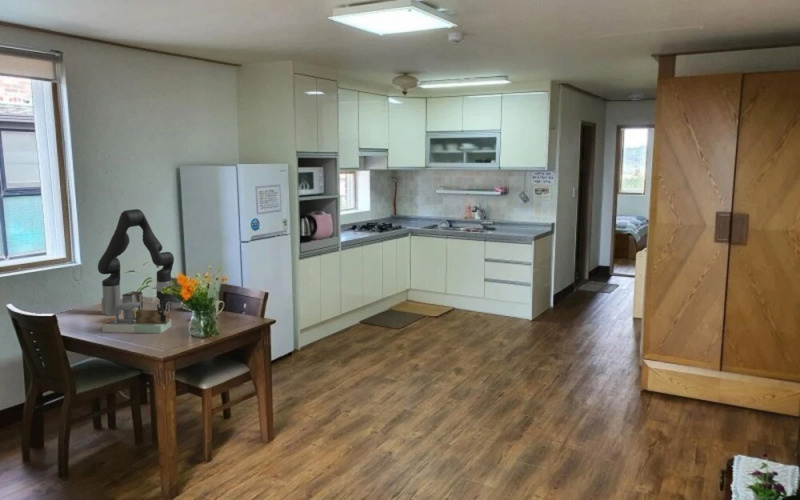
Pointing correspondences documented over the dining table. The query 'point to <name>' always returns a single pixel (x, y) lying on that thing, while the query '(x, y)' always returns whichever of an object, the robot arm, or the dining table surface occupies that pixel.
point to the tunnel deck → (132, 322)
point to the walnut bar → (150, 316)
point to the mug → (218, 306)
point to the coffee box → (132, 297)
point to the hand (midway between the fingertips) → (164, 320)
